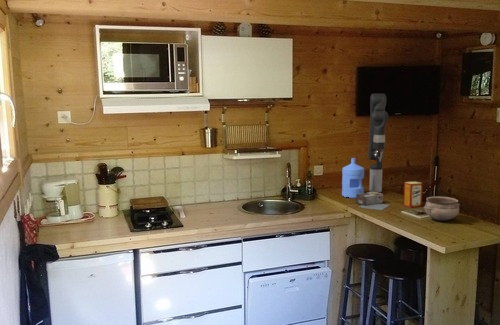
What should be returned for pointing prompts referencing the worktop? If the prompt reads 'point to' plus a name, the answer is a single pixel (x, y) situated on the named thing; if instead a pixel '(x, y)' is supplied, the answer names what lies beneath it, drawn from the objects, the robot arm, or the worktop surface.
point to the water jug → (352, 179)
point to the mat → (375, 206)
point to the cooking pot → (442, 208)
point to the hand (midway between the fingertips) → (378, 166)
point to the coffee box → (369, 198)
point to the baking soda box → (413, 194)
